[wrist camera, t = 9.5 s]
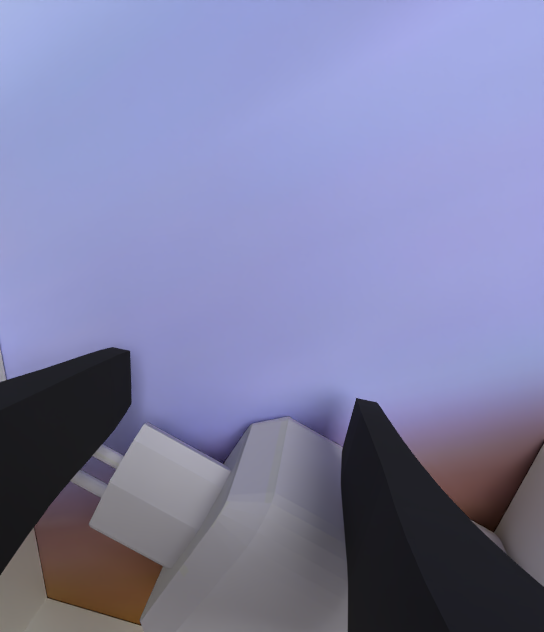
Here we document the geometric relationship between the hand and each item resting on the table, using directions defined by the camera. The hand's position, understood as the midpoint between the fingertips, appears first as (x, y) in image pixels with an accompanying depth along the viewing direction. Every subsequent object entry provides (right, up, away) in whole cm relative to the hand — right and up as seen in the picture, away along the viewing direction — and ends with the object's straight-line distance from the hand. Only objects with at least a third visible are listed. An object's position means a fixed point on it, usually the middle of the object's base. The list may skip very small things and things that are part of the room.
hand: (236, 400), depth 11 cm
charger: (+1, -5, +4) cm, 6 cm away
